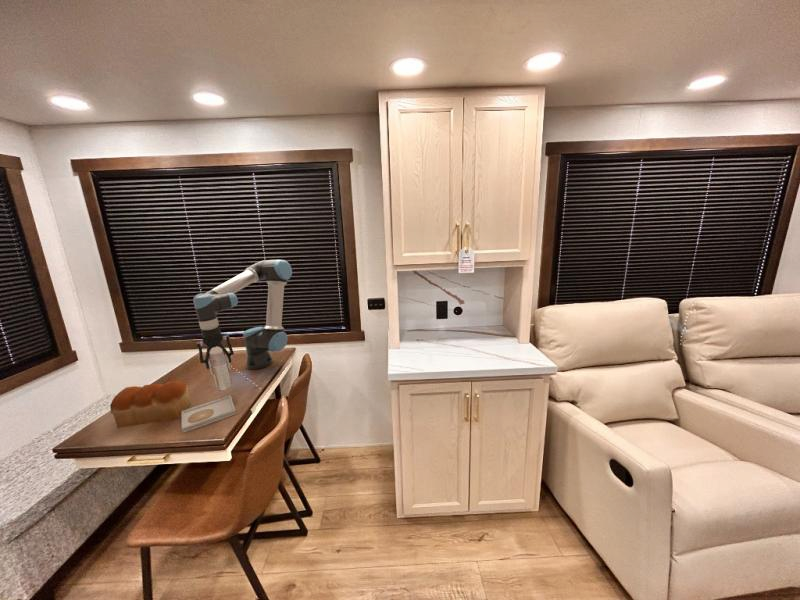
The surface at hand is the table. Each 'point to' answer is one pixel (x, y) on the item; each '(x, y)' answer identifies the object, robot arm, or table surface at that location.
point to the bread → (150, 403)
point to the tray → (207, 413)
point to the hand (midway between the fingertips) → (221, 371)
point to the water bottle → (220, 368)
